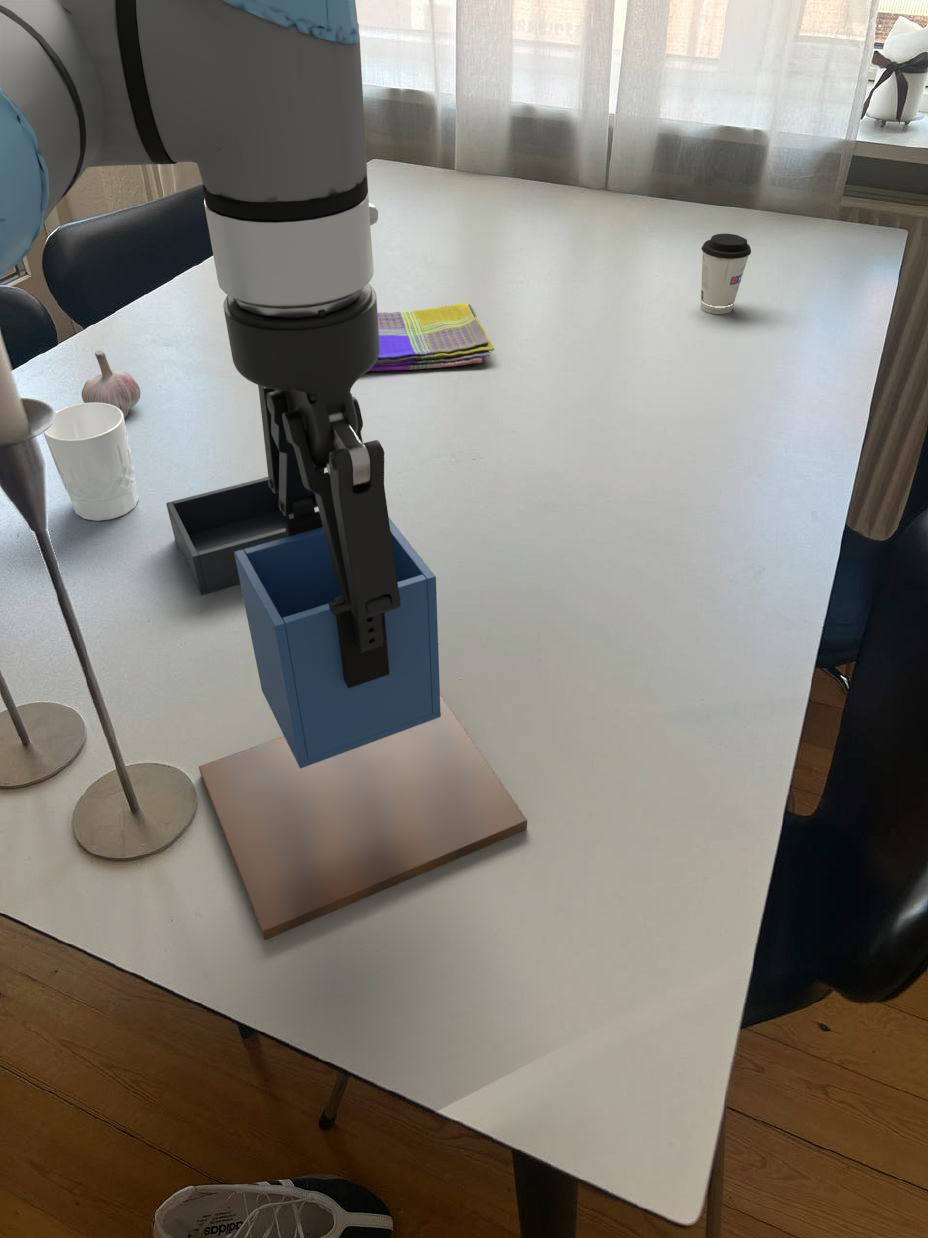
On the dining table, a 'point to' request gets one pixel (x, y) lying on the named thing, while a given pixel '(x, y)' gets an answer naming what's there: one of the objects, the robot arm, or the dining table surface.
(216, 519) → the charcoal bin
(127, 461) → the white cup
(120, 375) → the garlic bulb
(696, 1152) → the dining table surface
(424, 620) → the blue bin
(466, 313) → the dish towel
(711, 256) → the coffee cup
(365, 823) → the brown wooden flat board
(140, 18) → the robot arm
